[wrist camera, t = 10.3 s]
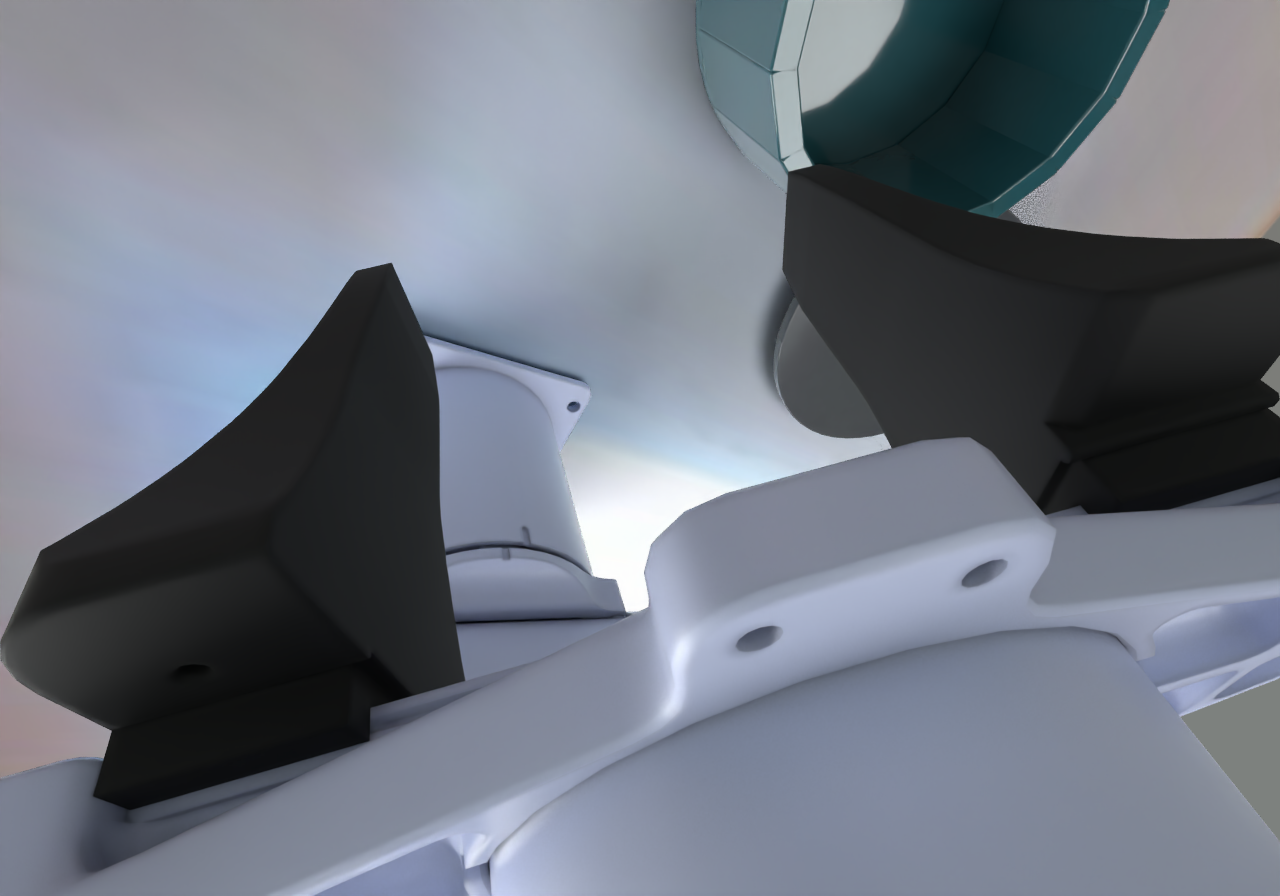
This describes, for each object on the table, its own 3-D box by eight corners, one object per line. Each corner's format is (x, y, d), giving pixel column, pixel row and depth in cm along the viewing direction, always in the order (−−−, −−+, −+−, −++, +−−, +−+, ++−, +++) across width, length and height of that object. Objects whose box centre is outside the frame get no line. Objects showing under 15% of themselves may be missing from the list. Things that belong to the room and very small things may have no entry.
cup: (865, 223, 25) (954, 296, 21) (630, 89, 19) (689, 152, 16) (1091, -91, 20) (1266, -73, 16) (855, -388, 14) (1028, -472, 10)
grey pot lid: (889, 445, 34) (942, 510, 31) (716, 389, 28) (758, 461, 25) (1066, 251, 28) (1153, 304, 25) (894, 131, 23) (979, 181, 19)
